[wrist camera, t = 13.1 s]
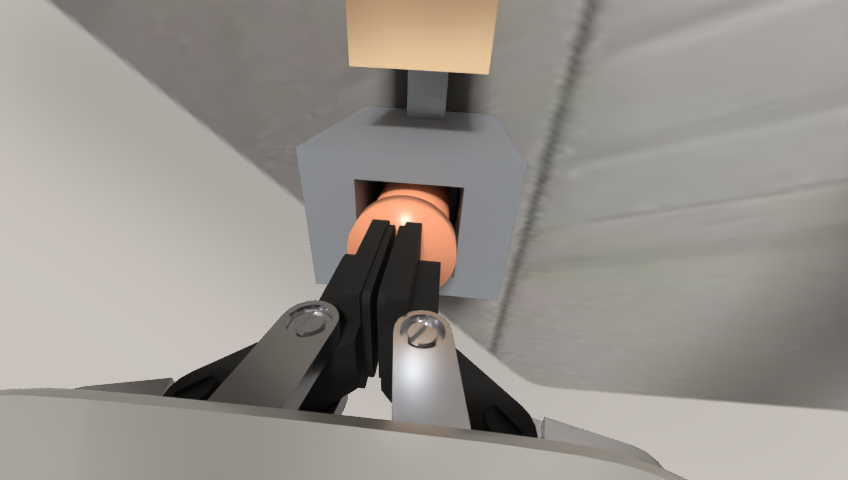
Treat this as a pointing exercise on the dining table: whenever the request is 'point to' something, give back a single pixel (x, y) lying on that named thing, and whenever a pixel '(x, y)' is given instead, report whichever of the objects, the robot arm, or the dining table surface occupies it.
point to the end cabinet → (417, 164)
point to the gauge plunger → (414, 220)
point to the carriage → (422, 34)
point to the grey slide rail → (427, 94)
